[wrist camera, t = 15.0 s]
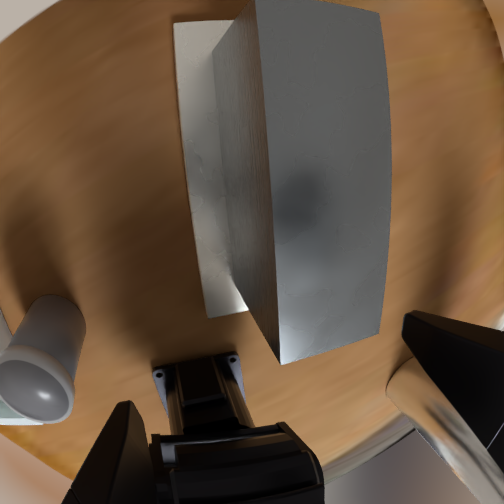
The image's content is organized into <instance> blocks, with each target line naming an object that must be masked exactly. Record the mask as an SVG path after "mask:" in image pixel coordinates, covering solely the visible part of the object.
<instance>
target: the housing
mask: <svg viewBox="0 0 504 504" xmlns="http://www.w3.org/2000/svg"><path fill="white" fill-rule="evenodd" d="M173 44H174V59H175V73H176V86H177V98H178V109H179V119H180V129H181V139H182V148H183V157H184V166H185V174H186V182H187V190H188V198H189V206H190V213H191V221H192V228H193V235H194V241H195V248H196V255H197V261H198V268H199V274H200V280H201V286H202V292H203V298H204V304H205V310H206V313H207V316H208V319H209V318H214V317H219V316H224V315H228V314H233V313H238V312H242V311H247V310H249V311H250V313H251V314H252V316H253V318H254V320H255V322H256V323H257V325H258V327H259V329H260V330H261V332H262V334H263V335H264V337H265V339H266V341H267V342H268V344H269V346H270V348H271V349H272V351H273V353H274V355H275V356H276V358H277V360H278V361H279V363H280V365H283V364H286V363H290V362H293V361H297V360H300V359H304V358H307V357H310V356H314V355H317V354H320V353H323V352H326V351H330V350H333V349H336V348H339V347H342V346H345V345H348V344H351V343H354V342H356V341H359V340H362V339H365V338H368V337H371V336H373V335H376V334H379V328H380V322H381V314H382V307H383V299H384V291H385V282H386V272H387V261H388V249H389V235H390V216H391V182H392V154H391V121H390V103H389V90H388V78H387V68H386V59H385V50H384V43H383V35H382V29H381V22H380V16H379V13H376V12H372V11H368V10H364V9H359V8H355V7H350V6H345V5H340V4H334V3H328V2H322V1H316V0H250V1H249V2H248V3H247V4H246V6H245V7H244V8H243V10H242V11H241V12H240V13H239V15H238V16H237V17H236V19H235V20H216V21H195V22H182V23H174V24H173Z"/></svg>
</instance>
